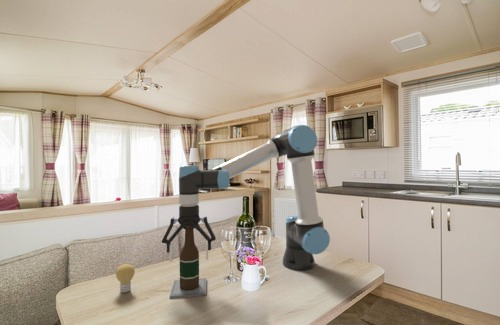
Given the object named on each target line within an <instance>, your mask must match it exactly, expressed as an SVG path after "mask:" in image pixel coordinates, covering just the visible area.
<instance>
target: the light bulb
mask: <svg viewBox="0 0 500 325" xmlns="http://www.w3.org/2000/svg"><path fill="white" fill-rule="evenodd" d="M135 273H136V270H135V268H134V266H133V265H132V264H128V263H126V264H122V265H120V266H119V267H118V268H117V270H116V272H115V276H116V279H117V281H119V283H120V284H119V288H120V289H119V292H121V293H124V294H125V293H128V292H130V290H132V285H131V284H132V282H131V281H132V279H133V277H134V276H135Z"/></svg>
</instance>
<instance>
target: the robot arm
mask: <svg viewBox="0 0 500 325" xmlns="http://www.w3.org/2000/svg"><path fill="white" fill-rule="evenodd" d="M317 143H318V135H317V133H316V132H315V131H314V129H313V128H312V127H311V126H308V125H305V124H299V125H298V124H297V125H294V126H292V127H290V128H287V129H285V130H283V131H281V132H280V133H278V134H276V135H275V136H273V137H272V138H270V139H268V140H267V142H266V143H264V144H261V145H260V146H258V147H256V148H253V149H251V150H249V151H247V152H243V153H242V154H240V155H239V156H238V155H237V156H235V157H234V158H232V159H230V160H227V161H225V162H223V163H221V164H219V165H217V166H215V167H212V168H210V169H206V170H204V169H203V170H202V169H200V167H199V165H197V164H196V165H191V164H189V165H181V166H179V168H178V170H179V172H178V191H179V194H178V204H179V207H178V211H179V212H178V218H177V217H174V216H173V217H171V218H170V222H169V226H168V228H167V229H166V232H165V234H164V236H163V237H162V240H161V243H162V244H165V245H166V253H167V254H168V253H169V263H172V262H173V260H174V259H173V258H174V253H173V251H174V250H173V249H174V247H173V246H174V245H173V244H174V243H173V241H174V239H175V238H176V237H177V236H178V234H180V233H181V231H182V230H183V229H184V230H186V228H185V227H186V226H187V225H192V226H193V228H192V229H193V230H194V229H196V231H198V232H199V233H200V235H201V236H202V237H203V238H204V239H205V240H206V241H205V260H206V261H208V260H209V251H211V250H212V242H213V241H216V240H217V239H216V235H215V233H214V231H213V230H212V228H211V226H210V224H209V221H208V217H207V216H206V215H205V216H202V217H200V205H199V203H200V192H199V191H200V190H216V189H217V190H223V189H229V187H230V184H231V183H230V182H231V180H230V179H232V178H234V177H236V176H238V175H240V174H241V175H242V174H243V173H245V172H246V171H249V170H251V169H253V168H255V167H257V166H260V165H261V164H263V163H265V162H268V161H270V160H272V159H274V158H276V159H279V158H281V157H282V156H283V157H284V156H286V159H287V160H288V161H289V162H290V164H291V171H292V178H293V179H292V180H293V185H294V195H295V201H296V209H297V215H290V216H287V217H286V219H285V237H286V238H285V244H286V245H285V250H284V253H283V257H282V265H283V266H284V267H286V268H287V269H291V270H294V271H295V270H296V271H306V270H311V269H313V268H314V267H315V262H316V261H315V258H314V255H319V254H322V253H323V252H325V251H326V250H327V248H328V247H329V244H330V242H331V241H330V240H331V237H330V233H329V232H328V230H327V229H326V228H325V226H324V219H323V217H321V216H320V215H319V210H318V209H319V208H318V200H317V193H316V192H317V191H316V186H315V185H316V183H315V178H314V171H313V170H314V169H313V162H312V161H313V159H314V157H315V148H316V146H317V145H318V144H317ZM177 222H178V224H179V227H178V228H177V229H176V230H175V231H174V232H173V234H172V235H170V233H171V230H172V229H173V227H174V225H175V224H177ZM200 222H202V223H203V224H204V226H205V228H206V229H207V231H208V234H207V232H206V231H205V230H204V229H203V228H202V226H201V225H200V224H199V223H200ZM169 235H170V237H169ZM168 237H169V238H168Z"/></svg>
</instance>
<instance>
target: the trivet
mask: <svg viewBox="0 0 500 325" xmlns="http://www.w3.org/2000/svg"><path fill="white" fill-rule="evenodd" d="M207 281H208V279H207V277H205V278H203V277H202V278H199V287H198V288H196V289H194V290H188V291H185V290H182V289H180V279H177V280H174V281H173V283H172V288H171V291H170V293H169V299H180V298H191V297H204V296H207V283H208V282H207Z"/></svg>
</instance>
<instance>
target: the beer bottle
mask: <svg viewBox="0 0 500 325" xmlns="http://www.w3.org/2000/svg"><path fill="white" fill-rule="evenodd" d="M185 228H186V230H185V229H184V230H185V231H184V232H185V233H184V245H183V247H182V248H181V250H180V254H179V280H180V289H182V290H185V291H188V290H194V289H196V288H198V287H199V279H200V254H199V248H198V247H197V245H196V244H195V233H194V232H195V230H194V229H192V228H193V226H192V225H187V226H186V227H185Z"/></svg>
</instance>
